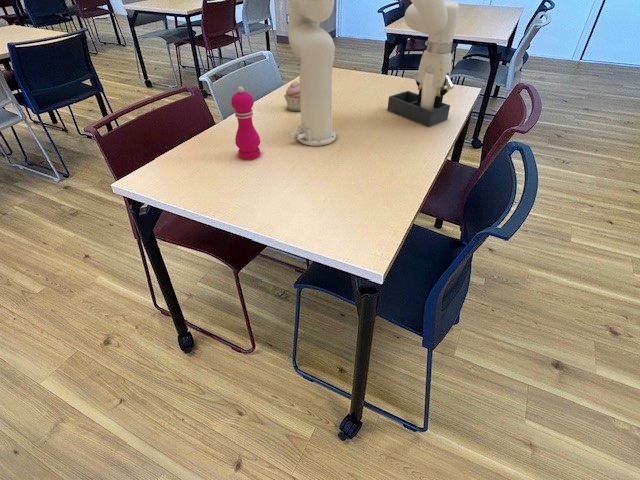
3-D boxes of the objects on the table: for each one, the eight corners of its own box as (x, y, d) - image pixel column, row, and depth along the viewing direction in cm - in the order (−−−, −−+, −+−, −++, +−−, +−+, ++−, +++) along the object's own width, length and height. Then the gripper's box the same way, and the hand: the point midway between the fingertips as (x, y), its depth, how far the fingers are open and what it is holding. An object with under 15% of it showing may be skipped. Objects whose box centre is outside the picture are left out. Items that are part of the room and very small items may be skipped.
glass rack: (428, 126, 129) (431, 112, 125) (387, 110, 140) (388, 96, 137) (447, 119, 133) (450, 105, 130) (405, 104, 145) (407, 90, 142)
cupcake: (308, 113, 139) (308, 85, 133) (283, 113, 139) (281, 85, 133) (310, 103, 146) (309, 76, 140) (285, 103, 146) (284, 76, 140)
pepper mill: (238, 162, 110) (227, 92, 97) (236, 151, 116) (225, 83, 103) (263, 158, 112) (255, 89, 99) (259, 148, 117) (252, 81, 104)
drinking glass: (435, 113, 136) (443, 69, 126) (438, 120, 131) (447, 75, 121) (416, 112, 136) (423, 68, 127) (418, 119, 131) (425, 74, 122)
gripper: (410, 44, 123) (402, 100, 134) (454, 55, 112) (442, 114, 124) (425, 40, 126) (416, 95, 138) (469, 50, 116) (456, 109, 127)
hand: (429, 103), depth 131 cm, fingers closed on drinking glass, 6 cm apart
